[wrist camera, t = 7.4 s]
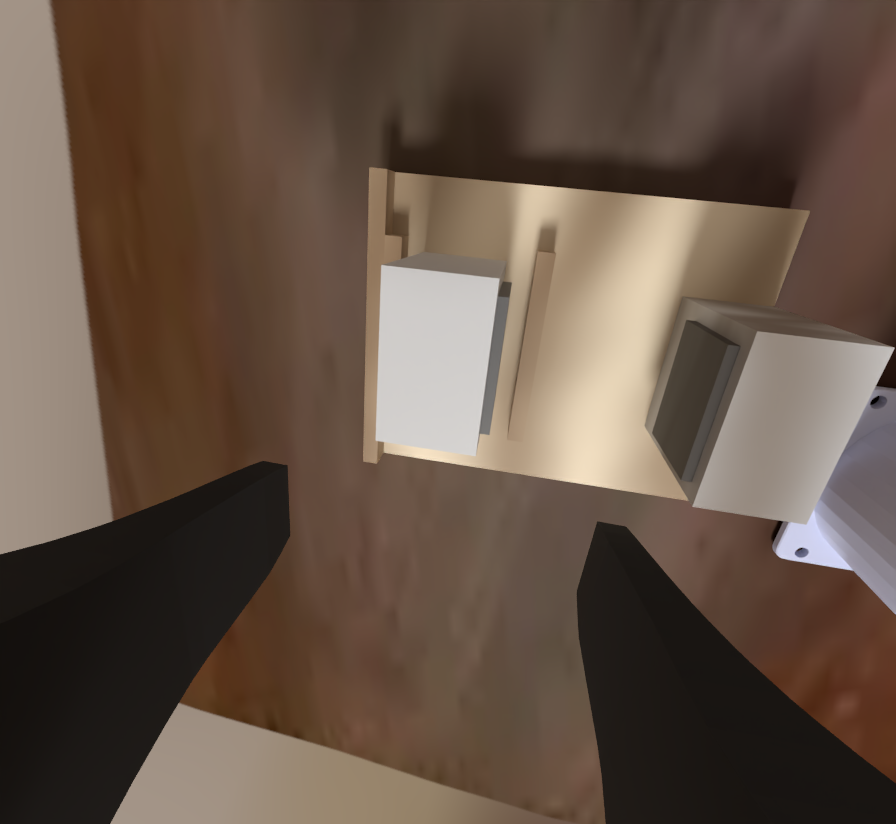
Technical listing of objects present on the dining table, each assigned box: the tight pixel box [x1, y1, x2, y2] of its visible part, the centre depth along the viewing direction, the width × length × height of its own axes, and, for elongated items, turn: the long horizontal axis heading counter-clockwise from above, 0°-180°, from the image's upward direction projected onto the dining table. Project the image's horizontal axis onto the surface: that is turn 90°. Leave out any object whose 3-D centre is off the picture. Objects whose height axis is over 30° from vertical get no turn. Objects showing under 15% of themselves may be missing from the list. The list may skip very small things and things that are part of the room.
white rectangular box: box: [376, 252, 512, 456], centre depth 15 cm, size 3×5×6 cm, turn 174°
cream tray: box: [363, 167, 895, 525], centre depth 15 cm, size 14×11×7 cm
